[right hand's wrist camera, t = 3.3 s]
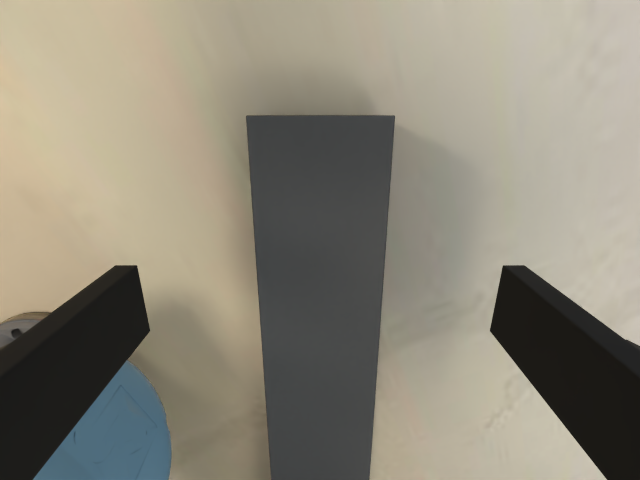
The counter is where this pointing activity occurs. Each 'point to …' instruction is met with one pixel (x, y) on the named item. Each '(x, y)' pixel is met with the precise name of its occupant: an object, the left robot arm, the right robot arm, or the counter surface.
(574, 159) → the counter surface
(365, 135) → the slab
